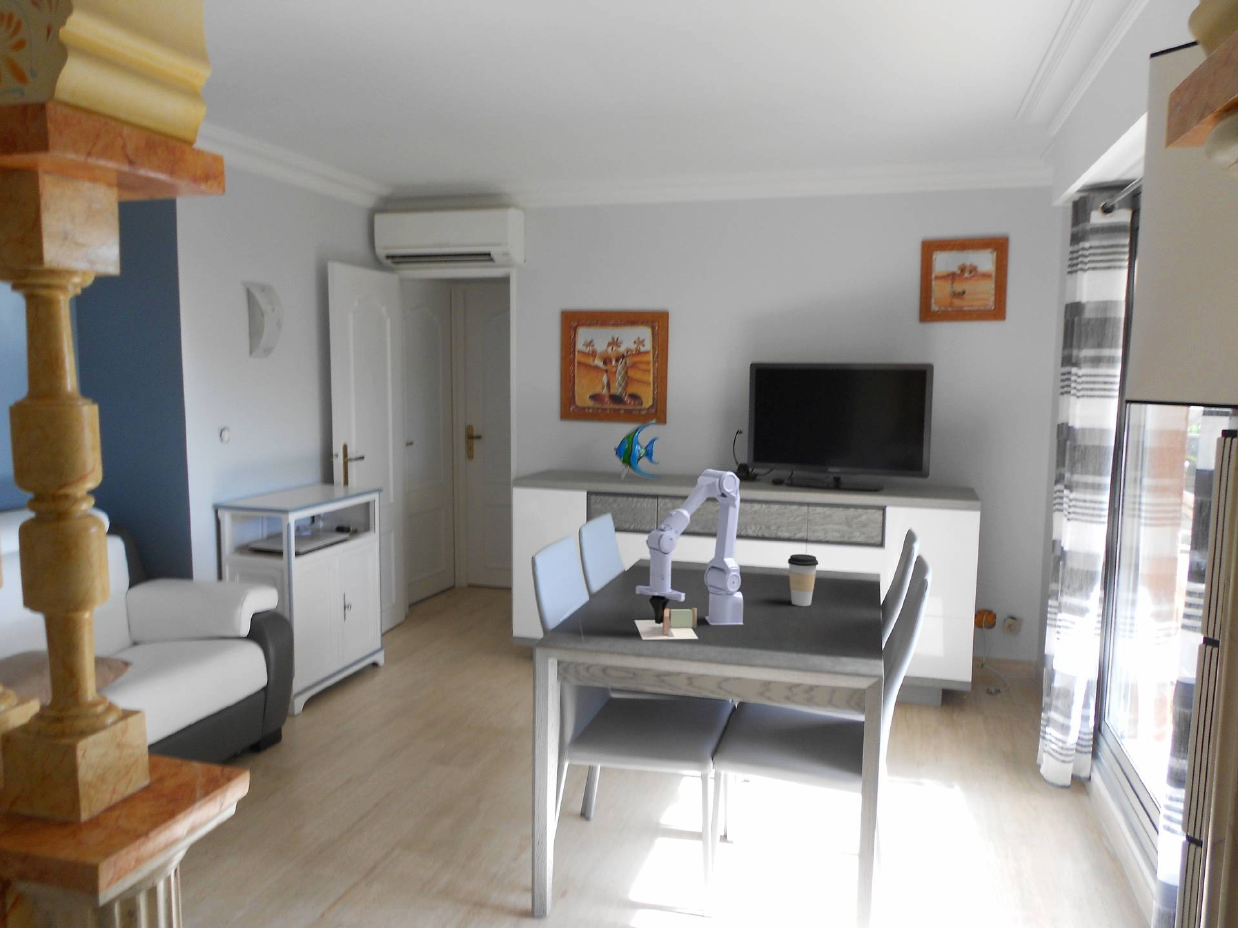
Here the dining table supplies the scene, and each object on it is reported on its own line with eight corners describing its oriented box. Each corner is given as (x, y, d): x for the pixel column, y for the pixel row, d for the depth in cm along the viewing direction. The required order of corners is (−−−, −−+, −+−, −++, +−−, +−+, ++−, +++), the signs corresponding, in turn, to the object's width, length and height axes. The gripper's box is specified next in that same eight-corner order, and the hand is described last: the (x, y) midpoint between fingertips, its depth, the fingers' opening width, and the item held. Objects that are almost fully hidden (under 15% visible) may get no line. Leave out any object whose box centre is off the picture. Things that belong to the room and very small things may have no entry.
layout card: (685, 620, 254) (685, 619, 254) (698, 639, 235) (698, 637, 235) (634, 621, 253) (634, 619, 253) (642, 640, 234) (642, 638, 234)
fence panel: (662, 625, 246) (663, 608, 246) (669, 625, 246) (669, 608, 246) (663, 634, 238) (663, 616, 237) (669, 634, 238) (669, 616, 237)
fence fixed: (695, 626, 247) (696, 607, 247) (697, 627, 246) (697, 608, 245) (669, 626, 246) (670, 607, 246) (670, 628, 245) (671, 609, 244)
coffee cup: (782, 605, 274) (784, 557, 272) (790, 598, 282) (792, 552, 281) (813, 608, 270) (814, 560, 268) (819, 602, 278) (821, 555, 277)
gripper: (630, 572, 240) (629, 621, 241) (675, 580, 232) (674, 630, 233) (644, 568, 246) (643, 616, 247) (689, 575, 237) (687, 625, 239)
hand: (659, 622), depth 240 cm, fingers closed, pressing on fence panel
